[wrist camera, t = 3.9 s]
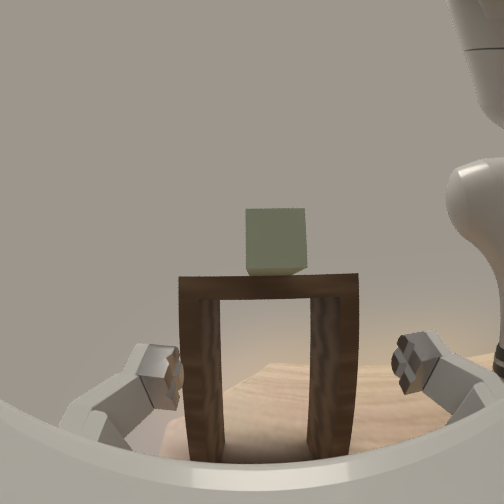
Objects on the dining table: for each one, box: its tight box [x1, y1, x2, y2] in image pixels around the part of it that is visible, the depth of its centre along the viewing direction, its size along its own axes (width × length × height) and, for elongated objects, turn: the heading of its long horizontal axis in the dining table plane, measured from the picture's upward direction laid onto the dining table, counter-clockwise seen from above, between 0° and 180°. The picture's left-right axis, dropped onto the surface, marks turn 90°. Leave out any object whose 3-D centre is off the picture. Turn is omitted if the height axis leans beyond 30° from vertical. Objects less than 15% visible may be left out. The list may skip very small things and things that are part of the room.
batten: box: [246, 208, 307, 276], centre depth 26 cm, size 20×4×4 cm, turn 179°
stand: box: [179, 273, 359, 463], centre depth 29 cm, size 14×16×25 cm
